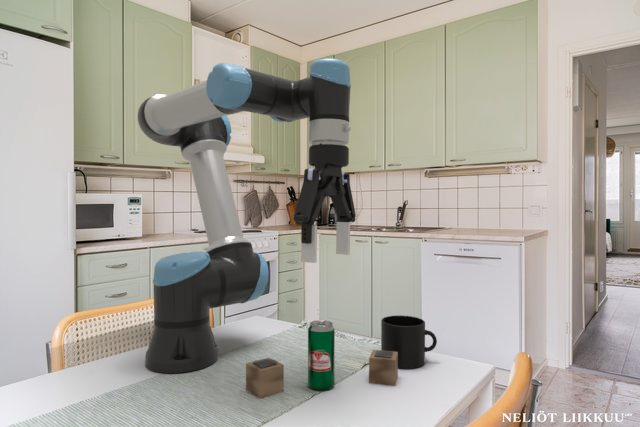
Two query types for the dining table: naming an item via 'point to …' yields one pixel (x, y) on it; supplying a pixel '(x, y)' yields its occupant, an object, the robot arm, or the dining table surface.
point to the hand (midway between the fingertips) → (326, 258)
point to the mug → (406, 339)
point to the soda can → (321, 355)
